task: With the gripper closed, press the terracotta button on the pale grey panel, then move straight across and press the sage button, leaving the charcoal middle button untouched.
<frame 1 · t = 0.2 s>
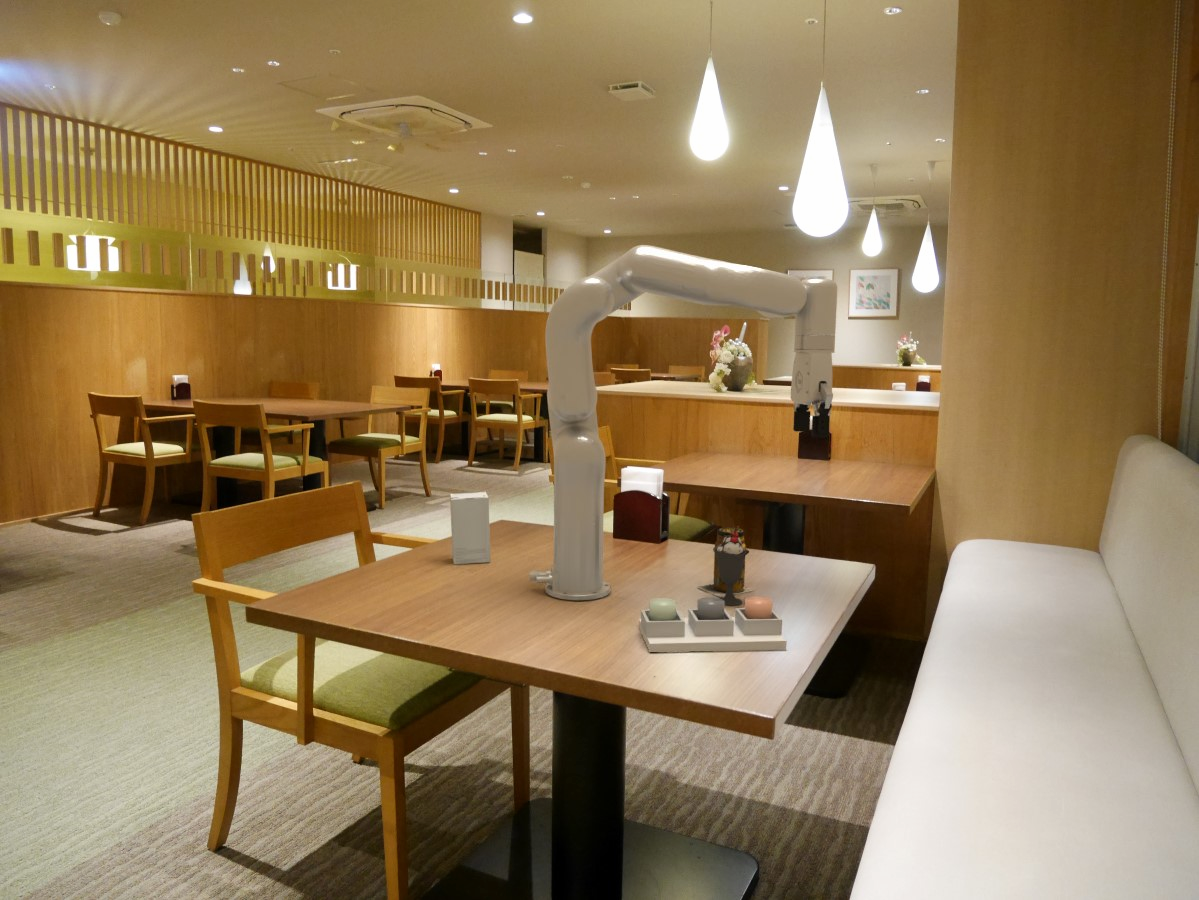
hand: (810, 434, 166), 31 cm above the table, tool pointing down, fingers open, 9 cm apart
skincare box: (470, 561, 188), on the table
sundae: (729, 603, 161), on the table
terracotta button: (758, 609, 142), point 5 cm above the table, slide at 0.0 cm
charcoal button: (710, 610, 141), point 5 cm above the table, slide at 0.0 cm
condiment: (724, 590, 169), on the table
sage button: (662, 610, 140), point 5 cm above the table, slide at 0.0 cm
panel: (710, 638, 142), on the table
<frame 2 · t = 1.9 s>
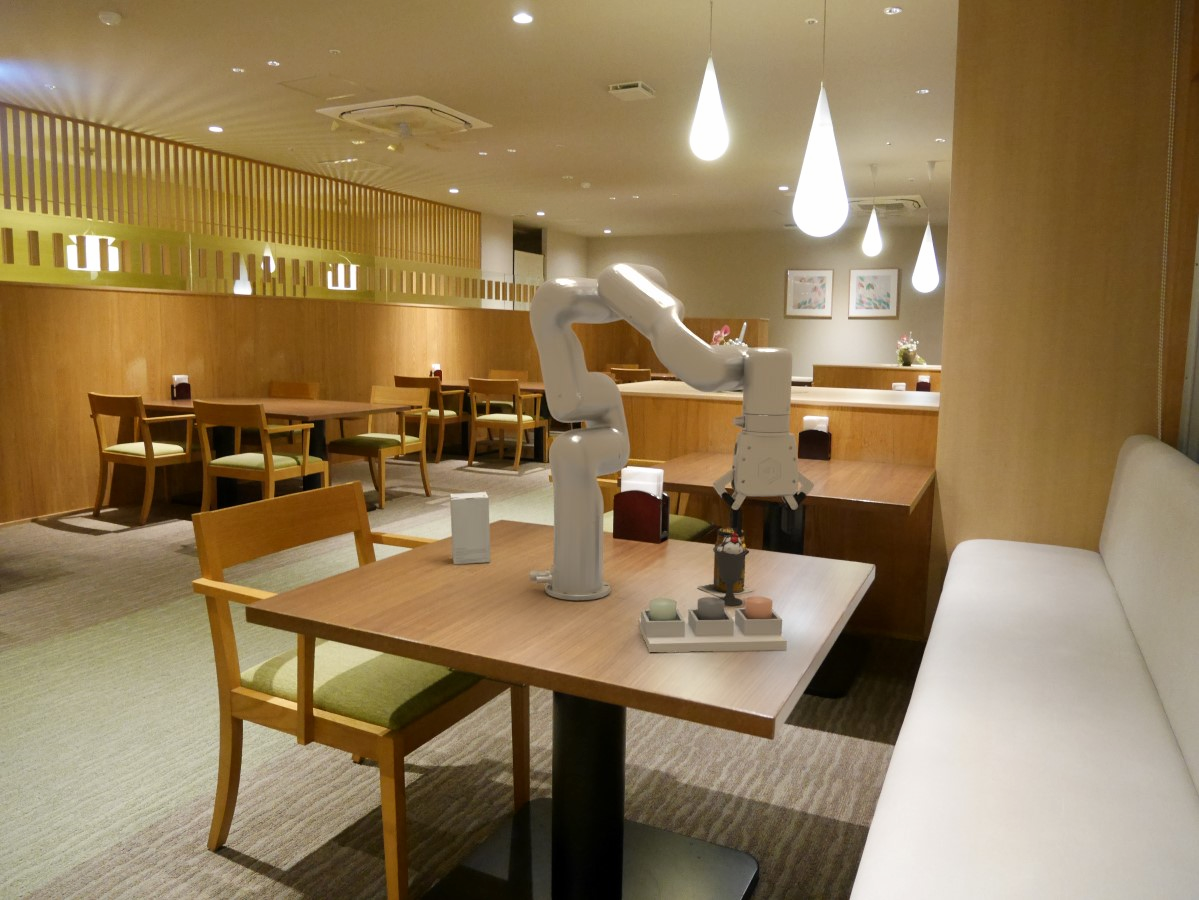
hand: (761, 531, 140), 18 cm above the table, tool pointing down, fingers open, 7 cm apart
nothing on the table moved.
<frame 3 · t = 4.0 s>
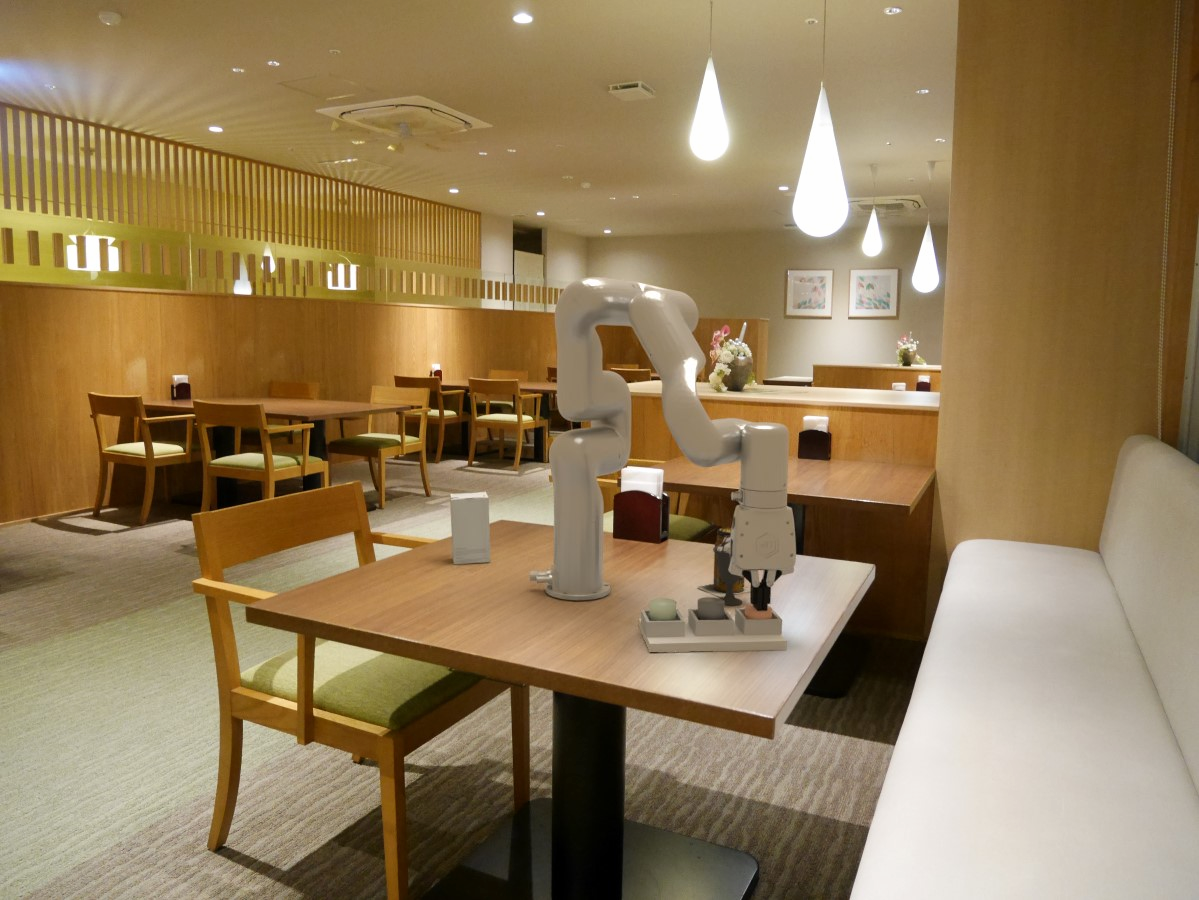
hand: (760, 608, 142), 5 cm above the table, tool pointing down, fingers closed
terracotta button: (758, 616, 142), point 3 cm above the table, slide at -1.3 cm, touching gripper
everything else where it was.
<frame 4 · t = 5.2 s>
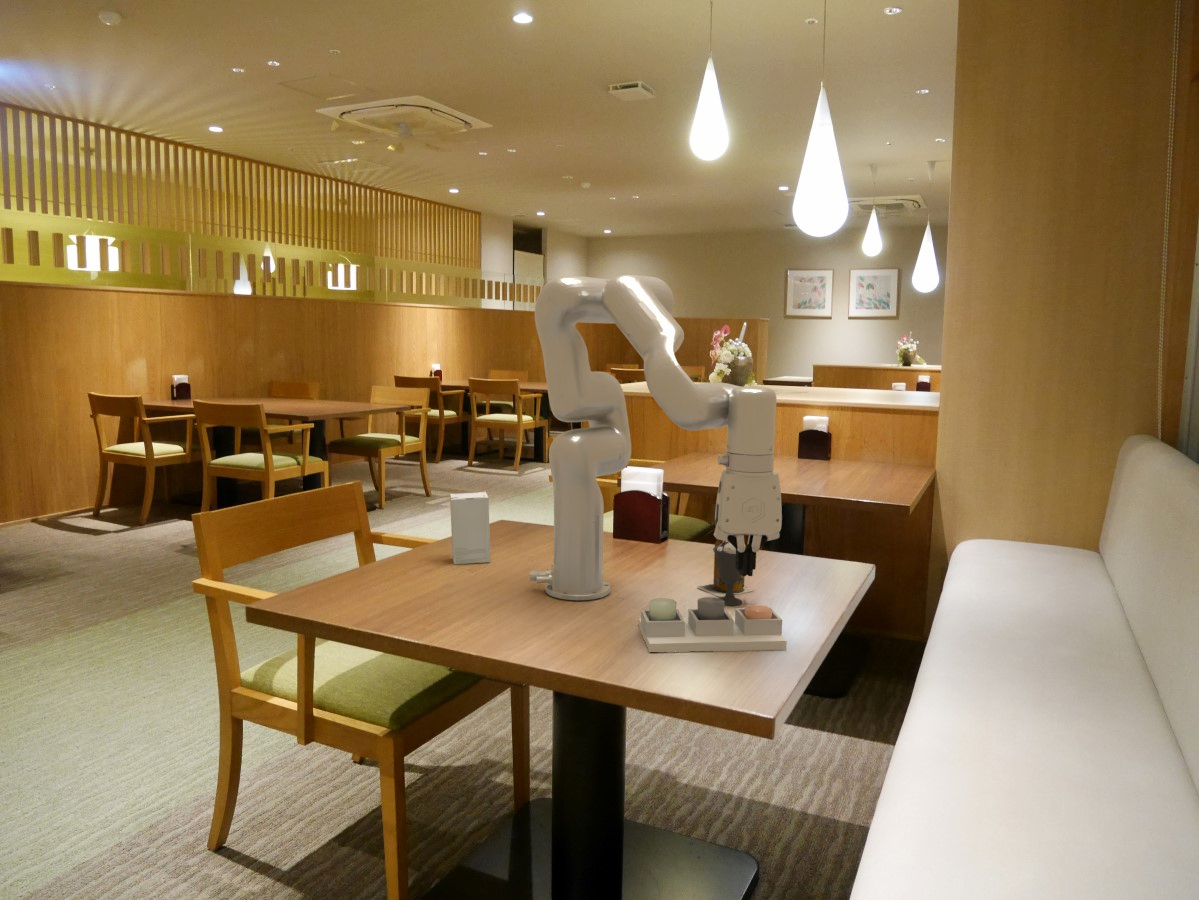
hand: (745, 573, 141), 11 cm above the table, tool pointing down, fingers closed
terracotta button: (758, 617, 142), point 3 cm above the table, slide at -1.5 cm
everything else where it was.
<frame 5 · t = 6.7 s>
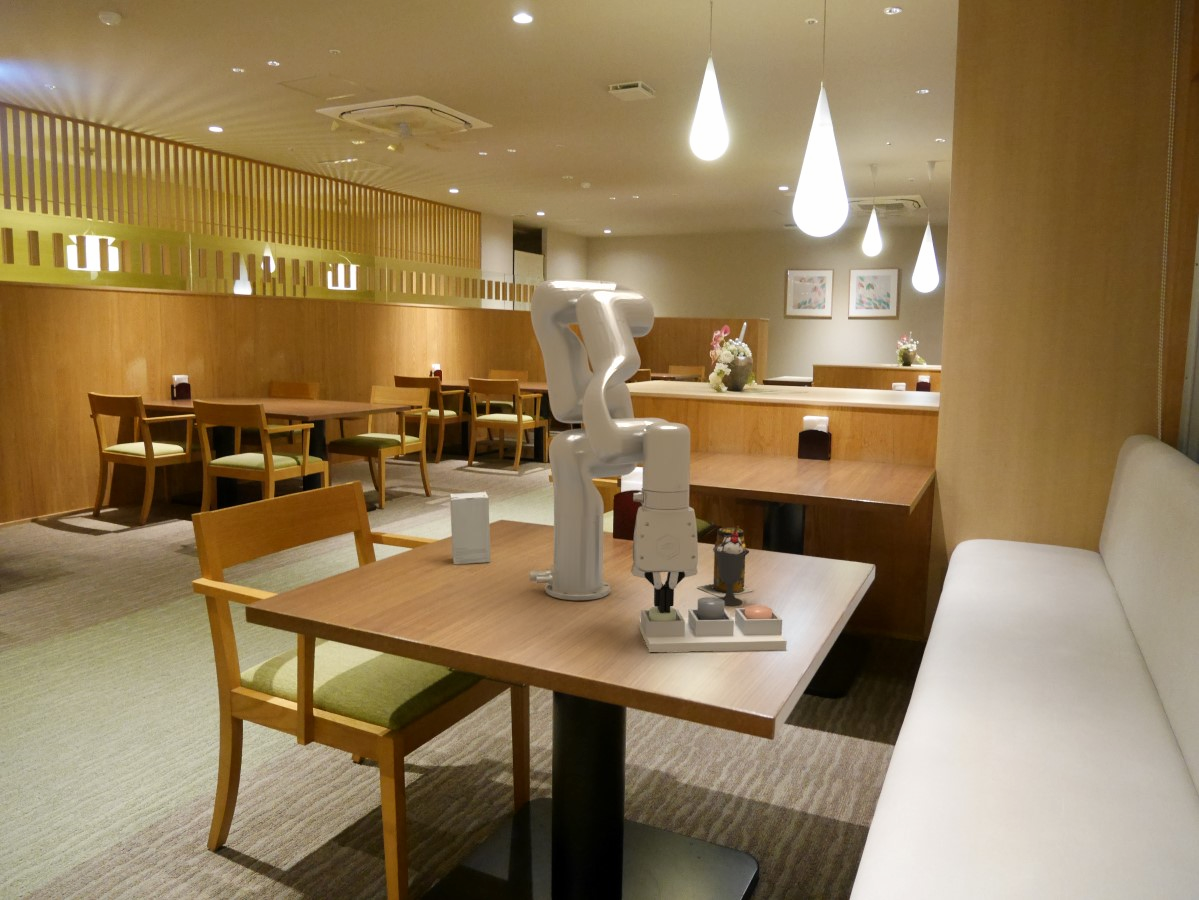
hand: (663, 610, 140), 5 cm above the table, tool pointing down, fingers closed
sage button: (662, 619, 141), point 3 cm above the table, slide at -1.4 cm, touching gripper
everything else where it was.
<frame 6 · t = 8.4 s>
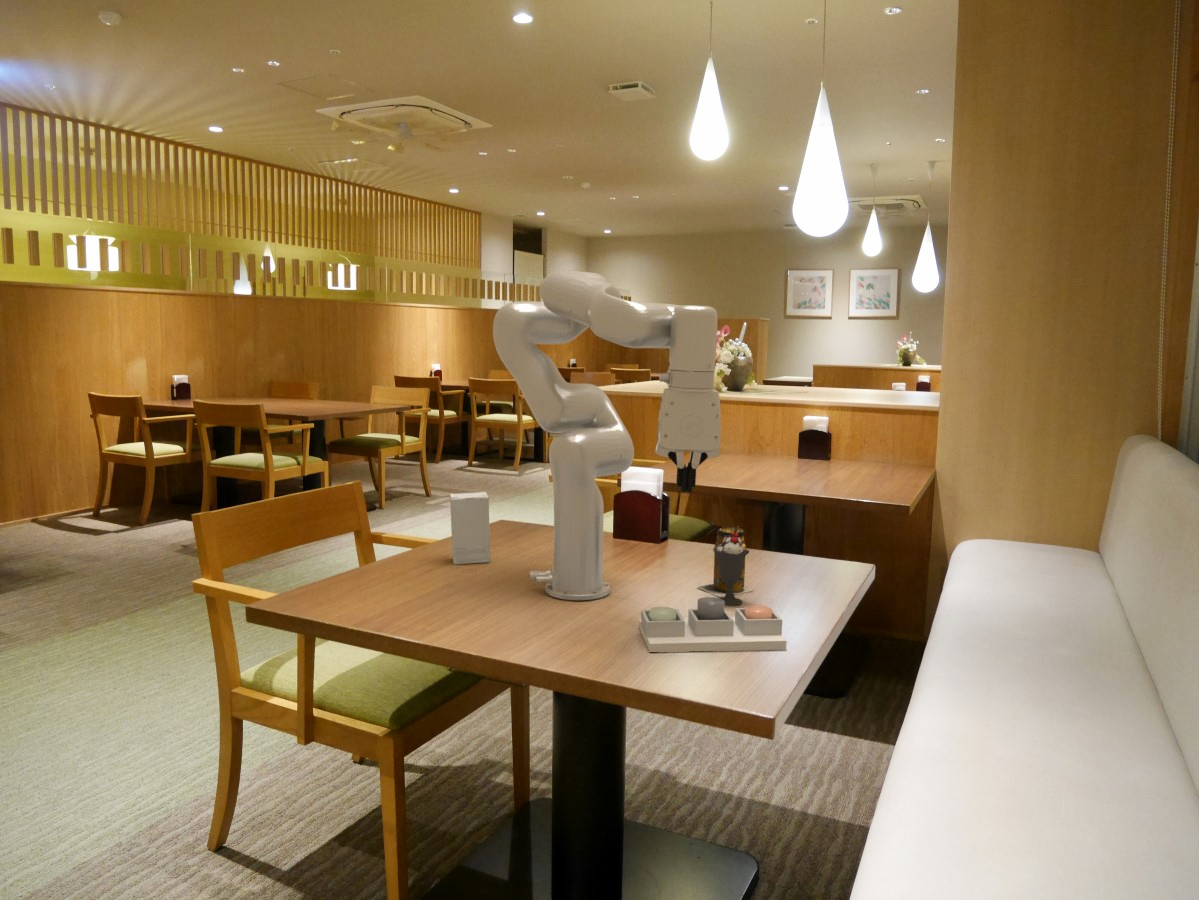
hand: (685, 490, 144), 24 cm above the table, tool pointing down, fingers closed
sage button: (662, 619, 141), point 3 cm above the table, slide at -1.5 cm
everything else where it was.
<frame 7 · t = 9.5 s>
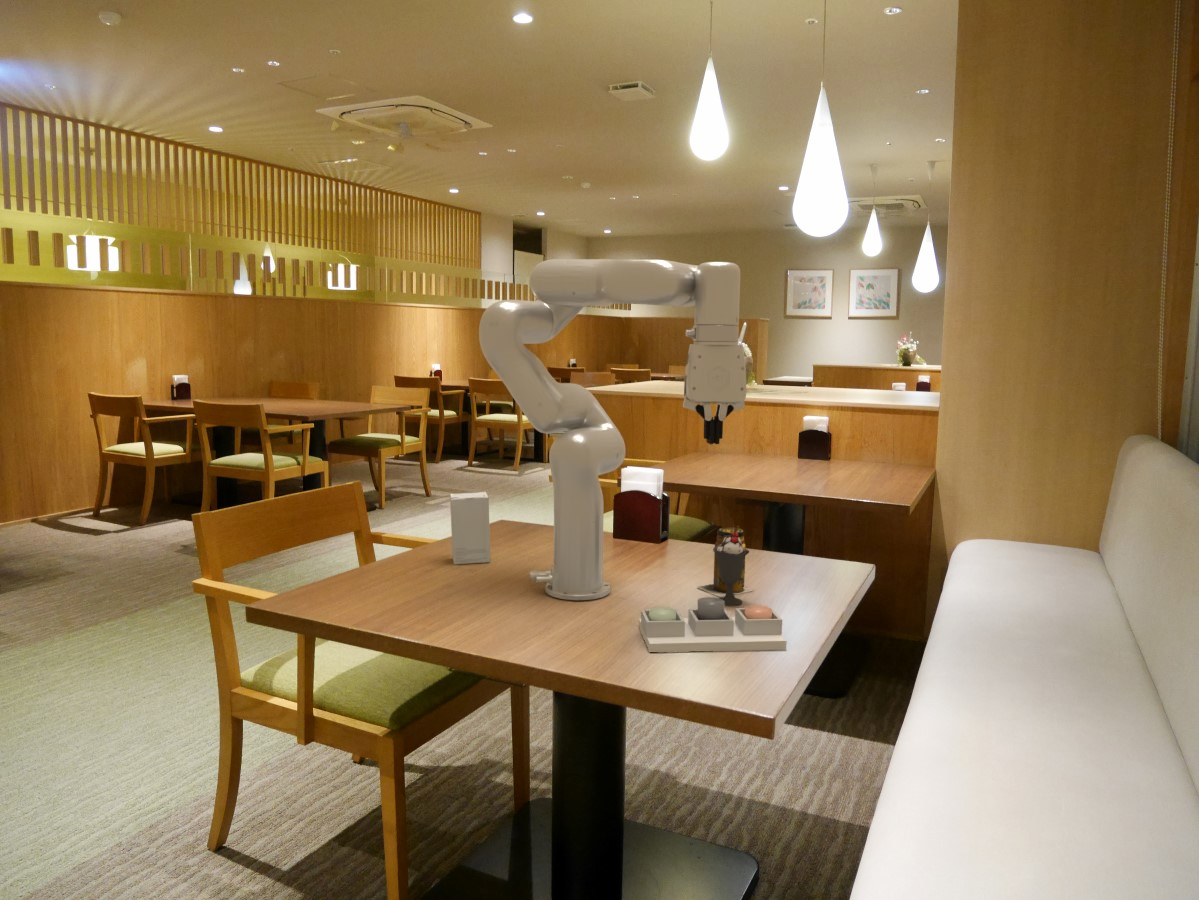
hand: (712, 442, 149), 31 cm above the table, tool pointing down, fingers closed
nothing on the table moved.
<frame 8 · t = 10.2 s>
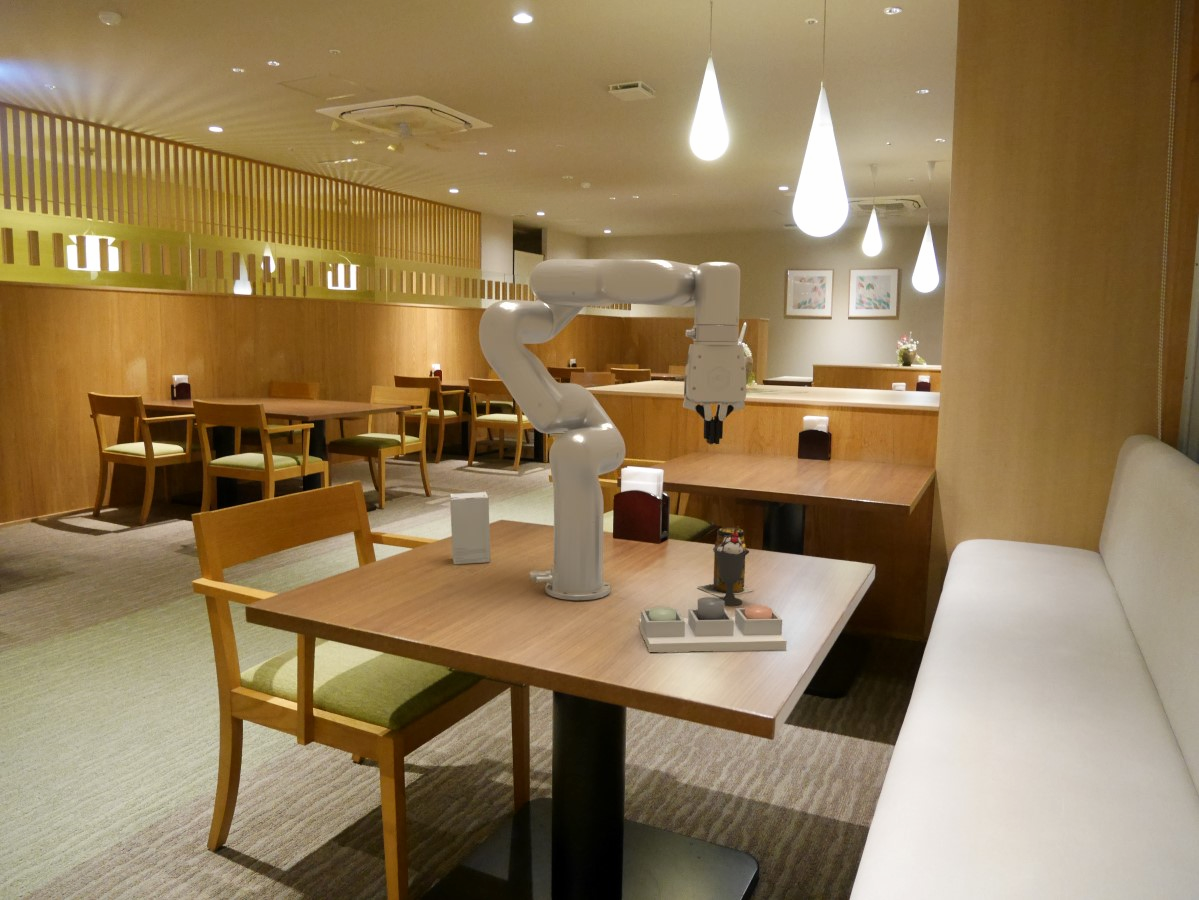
hand: (712, 442, 149), 31 cm above the table, tool pointing down, fingers closed
nothing on the table moved.
at the end: terracotta button slide at -1.5 cm; sage button slide at -1.5 cm; charcoal button slide at 0.0 cm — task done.
